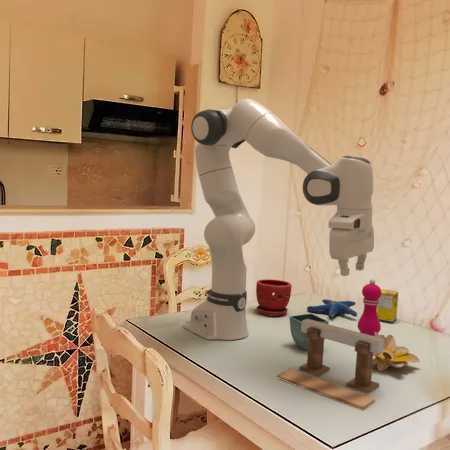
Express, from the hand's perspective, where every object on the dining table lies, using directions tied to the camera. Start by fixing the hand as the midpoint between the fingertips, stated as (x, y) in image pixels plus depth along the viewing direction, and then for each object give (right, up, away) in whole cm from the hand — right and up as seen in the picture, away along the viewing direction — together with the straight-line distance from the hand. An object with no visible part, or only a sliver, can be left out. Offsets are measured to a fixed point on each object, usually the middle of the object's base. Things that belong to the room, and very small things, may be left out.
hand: (352, 272), depth 128 cm
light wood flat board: (-9, -28, -6) cm, 30 cm away
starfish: (+8, -22, +61) cm, 65 cm away
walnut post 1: (-9, -27, +6) cm, 29 cm away
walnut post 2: (+2, -28, -4) cm, 29 cm away
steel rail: (-3, -18, 0) cm, 18 cm away
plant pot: (-15, -21, +59) cm, 64 cm away
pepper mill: (+13, -25, +32) cm, 43 cm away
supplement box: (+27, -23, +55) cm, 66 cm away
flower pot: (-8, -25, +23) cm, 35 cm away
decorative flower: (+13, -28, +10) cm, 32 cm away
